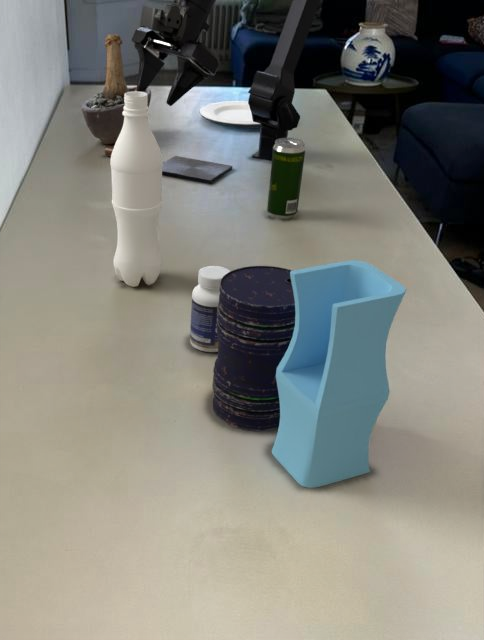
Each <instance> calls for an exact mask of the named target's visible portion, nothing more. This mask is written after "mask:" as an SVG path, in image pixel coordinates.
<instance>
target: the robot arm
mask: <svg viewBox="0 0 484 640" xmlns="http://www.w3.org/2000/svg"><path fill="white" fill-rule="evenodd" d="M216 1H217V0H178V1H177V3H173V2H171V4H169V3H167V4H165V6H164V8H163V9H161V8H157V7H152V6H149V5H144V4H142V7H141V12H140V13H141V14H140V20H139V27H138V28H136V29H135V31H134V32H133V36H132V38H131V42H132V43H134V46H133V47H134V49H136V51H137V54H138V58H139V63H138V64H139V65H138V74H137V83H136V87H137V89H136V91H139V92H144V91H145V90H146V89H147V88H148V87H149V86H150V85H151V84H152V82H153V81H154V79H156V77H157V75H158V74H159V73H160V71H161V70H162V68H163V67H164V66H165V64H166V63H165V62H163V61H164V60H165V59H167V58H168V56H169V55H170V56H174V57H176V58H177V59H176V60H177V61H176V62H177V72H176V73H175V77H174V79H173V82H172V84H171V87H170V90H169V92H168V95H167V99H166V104H167V106H169V107H172V106H173V105H175V104H176V103H177V102H178V101H179V100H180V99H182V98H183V97H184V96H185V95H186V94H188V92H189V91H190V90H192V89H193V88H194V87H197V85H198V84H199V83H202V81H204V80H208V78H209V75H210V76H212V77H213V76H215V75H216V72H217V71H218V69H219V66H220V58H219V56H218V55H217V54H216V53H215V52H214V51H212V50H211V48H209V47H208V46H206V44H205V43H203V42H201V41H199V39H200V36H201V34H202V32H205V33H208V31H209V30H210V27H211V26H210V25H209V24H208V23H207V22H208V19H209V17H210V15H211V12H212V10H213V7H214V5H215V3H216ZM320 3H321V0H292V2H291V3H290V7H289V11H288V13H287V15H286V17H285V18H286V19H285V22H284V24H283V27H282V30H281V33H280V36H279V38H278V41H277V43H276V47H275V50H274V53H273V54H272V58H271V61H270V64H269V65H268V67H266V68H265V70H264V71H260V70H257V71H256V72H255V74H254V77H253V80H252V84H251V86H250V88H249V89H248V92H247V93H248V94H249V97H248V100H247V101H248V104H249V106H250V110H251V114H252V119H253V122H257V123H260V124H261V127H260V129H259V140H258V141H259V142H258V151H256V152H254V153H252V155H251V158H252V159H256V160H262V161H268V162H272V155H273V147H274V145H275V141H276V140H277V139H280V138H289V137H288V136H289V131H293V130H294V129H297V128H298V126H299V122H300V120H301V115H300V114H299V112H298V111H297V109H296V108H295V105H294V104H293V101H294V97H295V91H296V90H295V88H296V87H295V77H294V74H295V71H296V68H297V65H298V63H299V60H300V58H301V55H302V52H303V50H304V46H305V44H306V41H307V39H308V36H309V32H310V30H311V27H312V24H313V22H314V19H315V16H316V14H317V11H318V8H319V6H320Z"/></svg>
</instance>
